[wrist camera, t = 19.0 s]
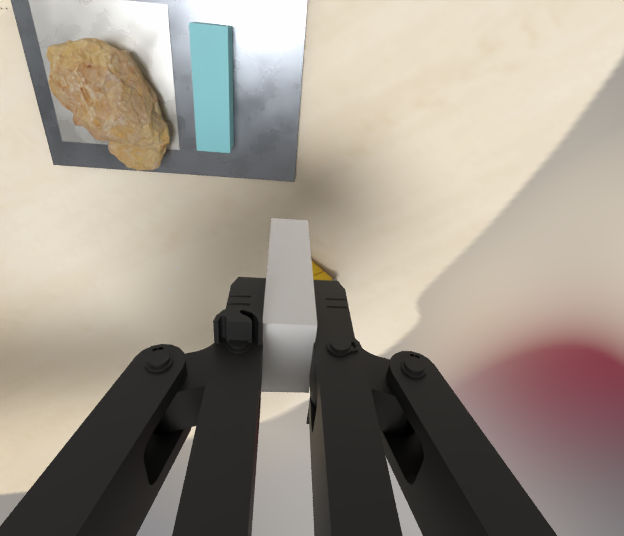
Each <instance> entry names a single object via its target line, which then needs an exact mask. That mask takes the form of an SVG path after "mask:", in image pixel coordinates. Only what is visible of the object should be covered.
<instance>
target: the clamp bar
mask: <svg viewBox="0 0 624 536" xmlns="http://www.w3.org/2000/svg"><path fill="white" fill-rule="evenodd" d="M189 35H190V51H191V67H192V82H193V98H194V114H195V130H196V145H197V151H208V152H222V153H230V152H231V150H232V147H233V145H234V116H233V42H232V26H231V25H221V24H211V23H202V22H191V23H189Z"/></svg>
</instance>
